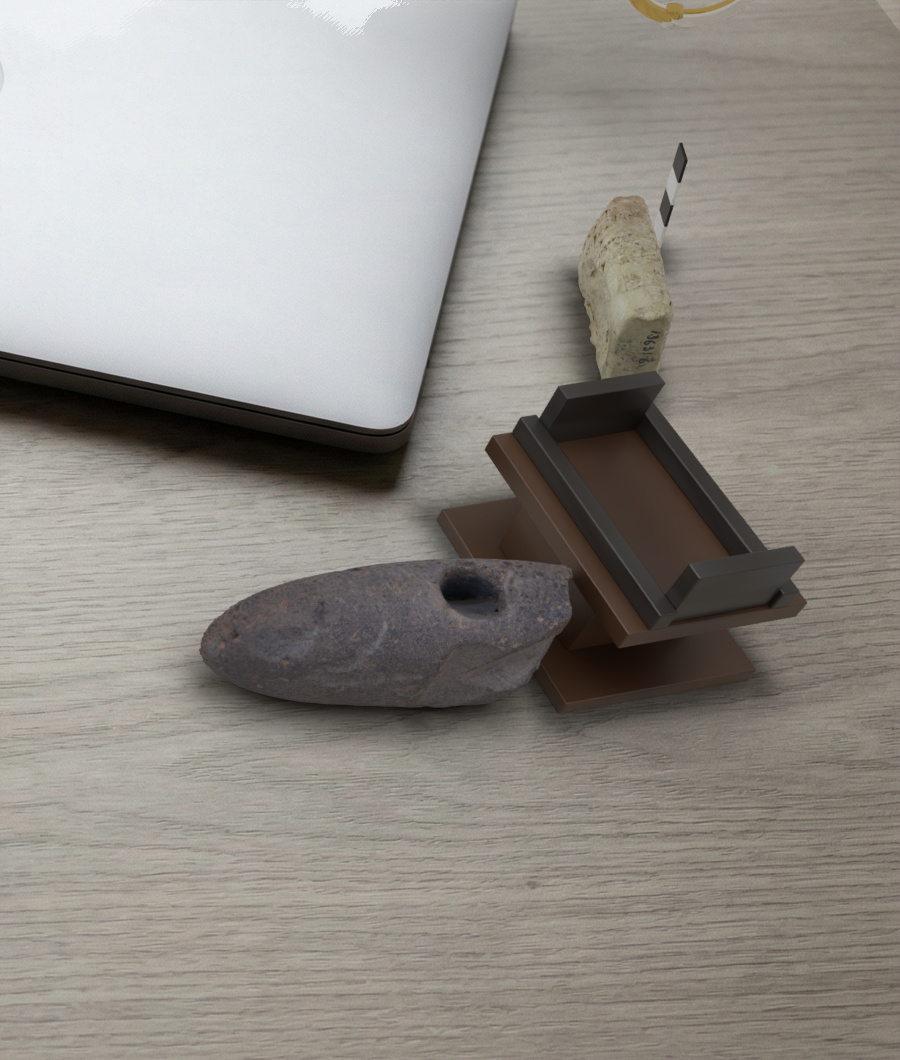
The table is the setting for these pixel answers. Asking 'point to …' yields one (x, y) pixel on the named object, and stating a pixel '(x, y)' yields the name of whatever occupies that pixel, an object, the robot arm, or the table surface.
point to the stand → (627, 547)
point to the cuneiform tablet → (629, 281)
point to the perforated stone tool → (395, 633)
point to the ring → (689, 12)
